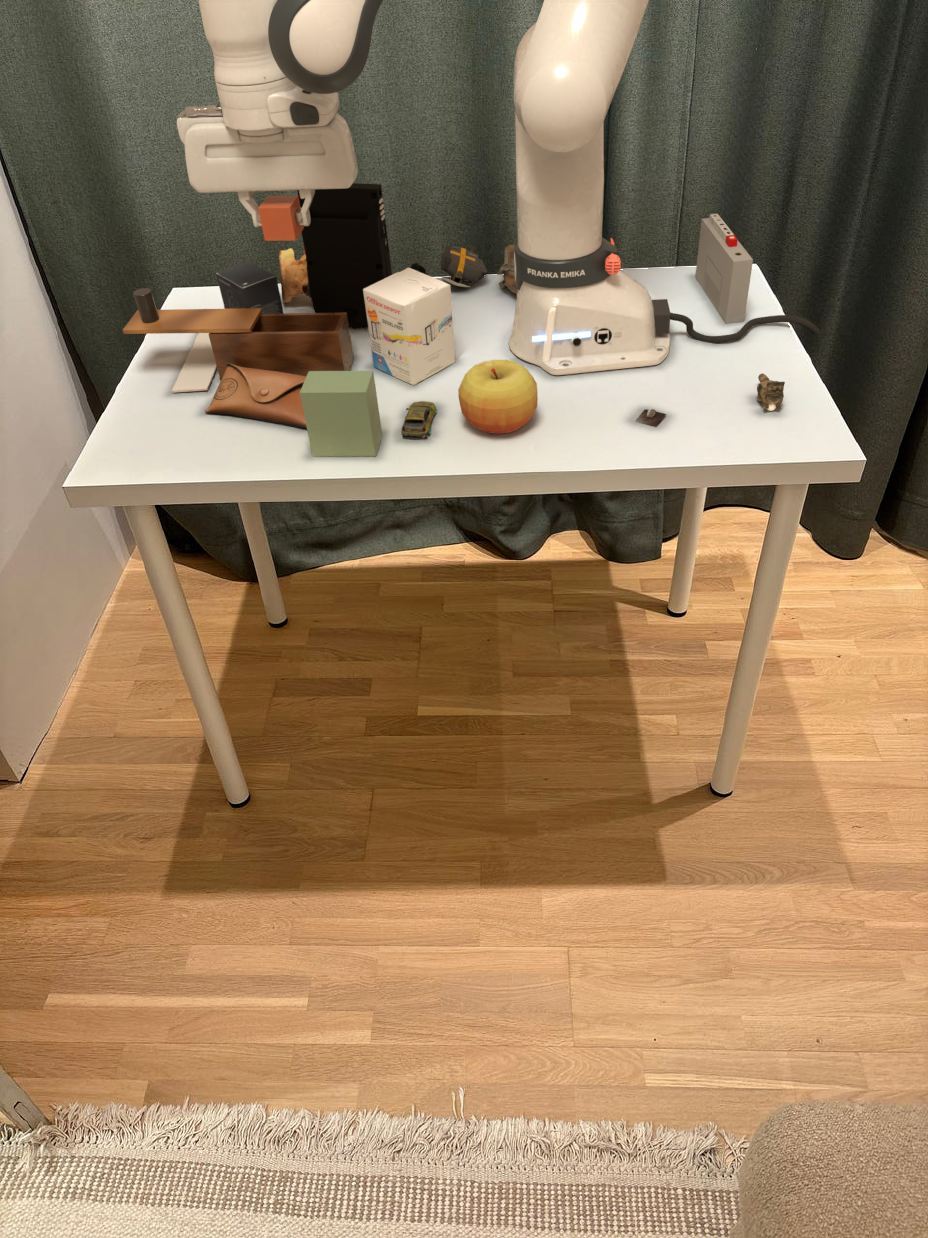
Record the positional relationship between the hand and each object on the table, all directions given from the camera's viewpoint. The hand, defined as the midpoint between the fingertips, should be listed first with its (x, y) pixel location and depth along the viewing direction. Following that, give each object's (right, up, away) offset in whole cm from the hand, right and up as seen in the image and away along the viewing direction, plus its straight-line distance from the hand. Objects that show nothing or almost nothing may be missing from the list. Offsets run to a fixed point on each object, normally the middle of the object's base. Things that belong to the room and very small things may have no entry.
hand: (283, 225), depth 119 cm
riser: (+8, -27, +1) cm, 28 cm away
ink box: (+16, -13, +15) cm, 26 cm away
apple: (+27, -24, +3) cm, 36 cm away
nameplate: (-15, -10, +21) cm, 28 cm away
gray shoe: (+23, +9, +33) cm, 41 cm away
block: (0, -1, +1) cm, 1 cm away
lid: (-15, -8, +13) cm, 21 cm away
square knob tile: (+46, -24, +1) cm, 52 cm away
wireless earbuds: (+12, +6, +33) cm, 35 cm away
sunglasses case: (-3, -21, +9) cm, 23 cm away
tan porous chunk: (-6, +4, +30) cm, 31 cm away
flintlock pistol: (+38, +5, +31) cm, 49 cm away
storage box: (-2, -14, +17) cm, 22 cm away
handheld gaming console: (+6, -5, +25) cm, 27 cm away
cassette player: (+60, -1, +24) cm, 65 cm away
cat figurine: (+61, -21, +3) cm, 64 cm away
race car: (+17, -24, +4) cm, 29 cm away
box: (-8, -8, +23) cm, 26 cm away
